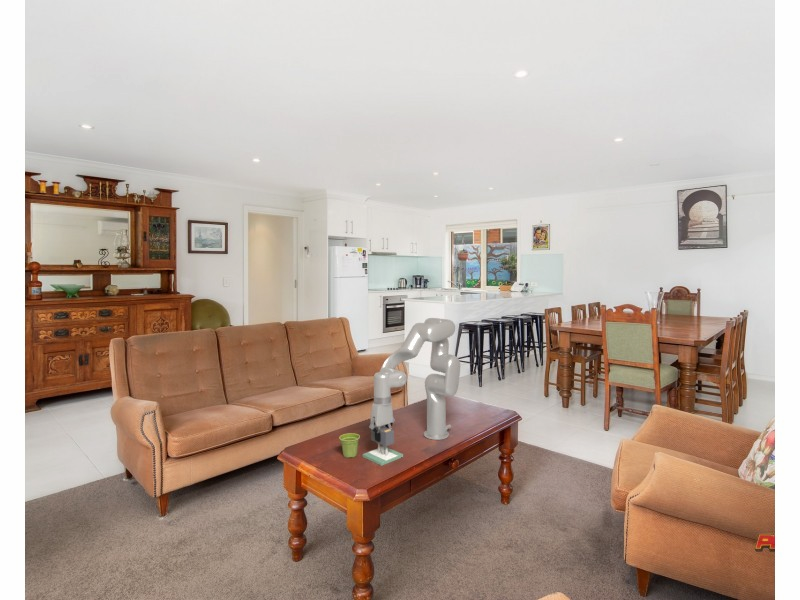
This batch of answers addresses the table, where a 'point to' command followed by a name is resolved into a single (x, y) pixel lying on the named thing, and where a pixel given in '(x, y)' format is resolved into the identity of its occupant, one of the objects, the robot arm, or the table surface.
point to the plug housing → (384, 436)
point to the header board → (382, 455)
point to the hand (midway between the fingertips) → (382, 438)
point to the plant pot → (349, 444)
